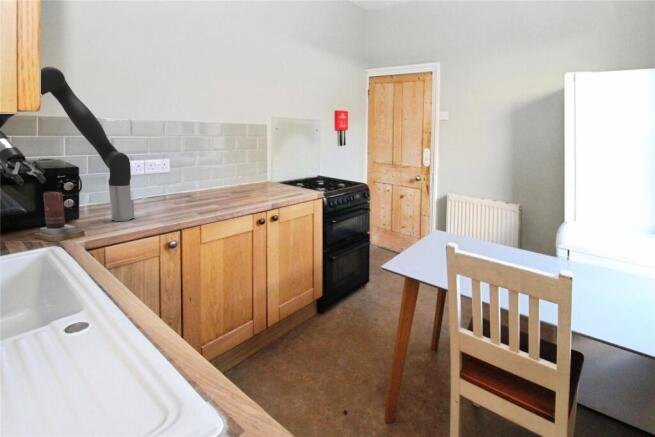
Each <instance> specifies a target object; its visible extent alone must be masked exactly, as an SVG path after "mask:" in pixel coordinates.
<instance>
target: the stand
mask: <svg viewBox="0 0 655 437" xmlns="http://www.w3.org/2000/svg"><path fill="white" fill-rule="evenodd" d="M39 229H40V232H36V233H35V232H34V234H33V236H34V239H37V240H42V241H47V242H51V241H55V242H60V241H64V240H70V239H75V238H79V237H85V236H86V233H85V230H82V229H79V226H77V225H71V224H66V223H65V226H64V227H61V228H47V227H46V226H45V227H40V228H39Z"/></svg>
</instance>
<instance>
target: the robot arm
mask: <svg viewBox="0 0 655 437" xmlns="http://www.w3.org/2000/svg"><path fill="white" fill-rule="evenodd" d="M40 70H41V94H42V96H43V95H44V96H45V95H46V94H48V93H50V94H51V95H52V96H53V97H54V98H55V99H56V101H57V102H58V103H59V105H61V107H62V109H63V110H64V112H65V114H66V115H67V117H68V118H69V119H70V121H71V123H73V125H74V126H75V128H76V129H77V131H79V132H80V133H81V135H82V136H83V137H84V138H85V139H86V140H87V141H88V143H89V144H90V145H91V146H92V147H93V148H94V150H96V152H97V154H98V156H99V157H100V158H101V160H102V161H103V163H104V164H105V167H107V168H108V169H109V178H108V180H107V181H108V189H109V190H108V192H109V201H110V214H111V220H114V221H113V222H124V221H125V222H126V221H131V220H130V219H132V218H135V207H134V200H133V199H132V191H131V178H132V174H131V172H132V169H131V161H130V158H129V157H128V155H127V154H125V153H123V152H120V151H119V150H118V149H117V148H116V147H115V146H114V145H113V143H111V141H110V140H109V139H108V137H107V134H106V132H105V130H104V128H103V125H102V124H101V122H100V121H99V120H98V118H97V117H96V116H95V114H94V113H93V111H91V110H90V108H89V107H88V106H86V105H85V103H84V102H83V101H82V100H81V99H80V98H78V95H76V94H75V93H74V91H73V90H72V88H71V86H70V85H69V84H68V82H67V81H66V78H65V74H64V73H63V72H62V71H61V70H60V69H59V68H57V67H54V66H44V67H42V68H41V69H40ZM17 114H18V113H16V114H0V129H1V128H2V127H3V126H4V125H5V124H6V122H8V120H9V119H10V118H12V117H13V116H16V115H17ZM30 170H31V171H30ZM0 172H1V173H2V175H3V176H4V177H5V178H7V179H8V178H11V179H13V180H14V182H16V184H17V185H19V186H23V185H24V183H25V180H24V179H23V178H22V177H21V176H20V174H28V175H29V176H30V175H31V176H32V175H33V176H34V177H36V179H37V180H38V181H39V182H40V183H41V184H45V182H46V181H47V179H46V177H45V176H44V175H43V174H44V173H45V172H46V170H45V169H44V168H43V167H42V166H41V165H40V164H39V163H38V162H37V161H35V160H34V161H32V162H29V161H27V158H26V156H25V154H24V153H23V152H22V151H21V150H20V149H19V148H18V146H17V145H16V144H15V143H14V142H12V141H11V139H10V138H9V137H8V136H7V135H6V134H5V132H3V131H2V130H0ZM132 220H133V219H132Z"/></svg>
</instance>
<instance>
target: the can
mask: <svg viewBox="0 0 655 437" xmlns="http://www.w3.org/2000/svg"><path fill="white" fill-rule="evenodd" d="M42 195H43V207H44V219H45V220H44V221H45V227H47V228H61V227H64V226H65V224H66V220H65V208H64V195H63V192H62V191H44V193H43V194H42Z"/></svg>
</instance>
